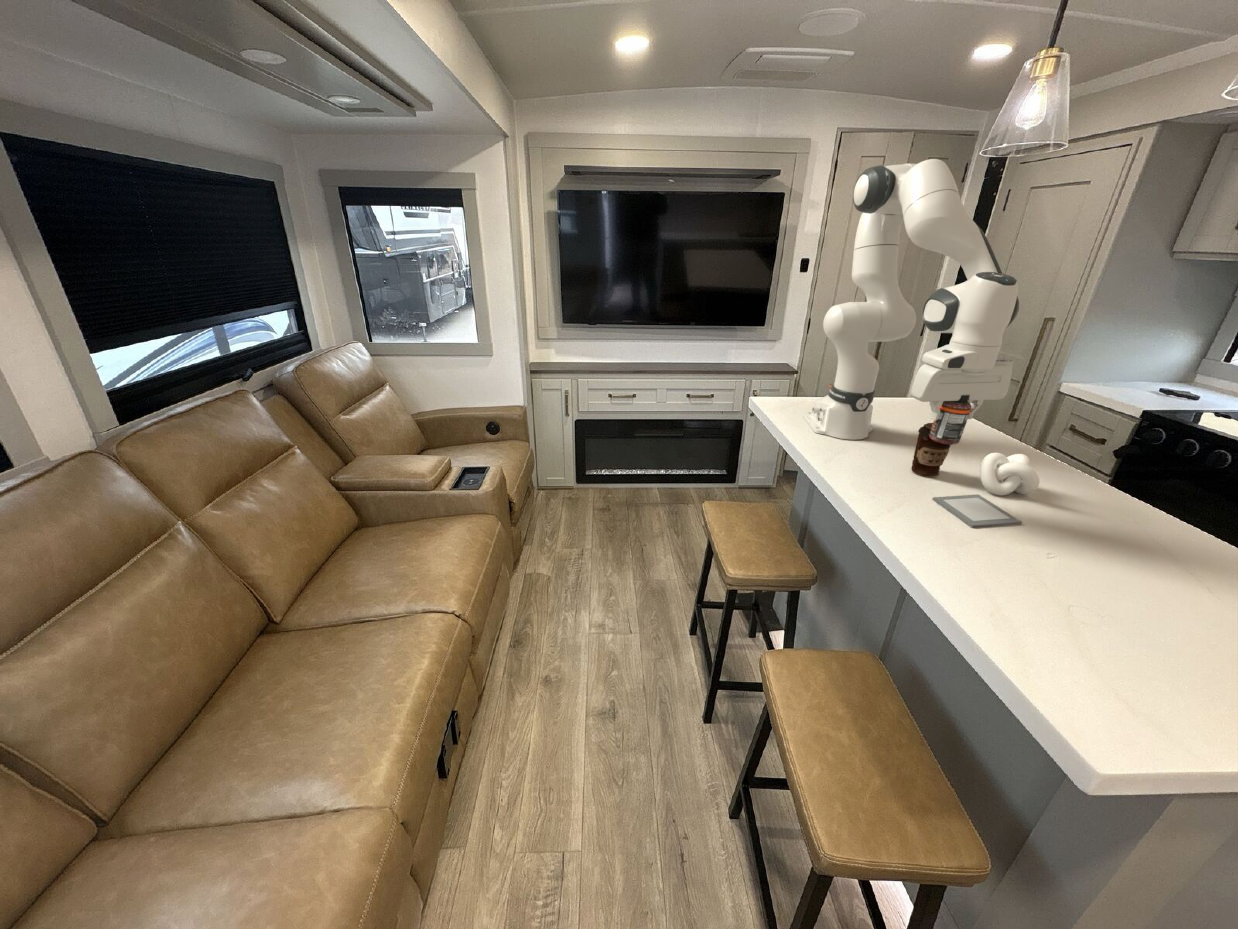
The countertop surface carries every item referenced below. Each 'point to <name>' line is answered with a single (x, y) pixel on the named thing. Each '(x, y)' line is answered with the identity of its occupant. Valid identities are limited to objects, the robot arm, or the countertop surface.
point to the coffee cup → (928, 453)
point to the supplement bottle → (951, 421)
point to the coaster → (976, 511)
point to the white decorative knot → (1008, 474)
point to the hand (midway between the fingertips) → (950, 418)
